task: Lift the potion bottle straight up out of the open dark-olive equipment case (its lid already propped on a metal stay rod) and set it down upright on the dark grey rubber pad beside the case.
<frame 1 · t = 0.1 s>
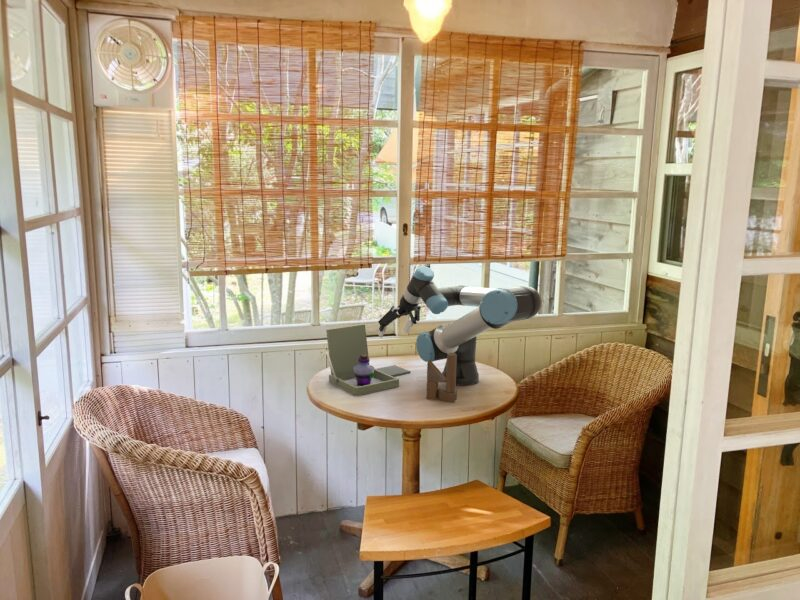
hand: (392, 333, 268), 15 cm above the table, tool tilted 35°, fingers open, 13 cm apart
pad: (392, 372, 265), on the table
case: (363, 384, 248), on the table
potion bottle: (363, 384, 248), resting in case
wooden block: (441, 400, 232), on the table
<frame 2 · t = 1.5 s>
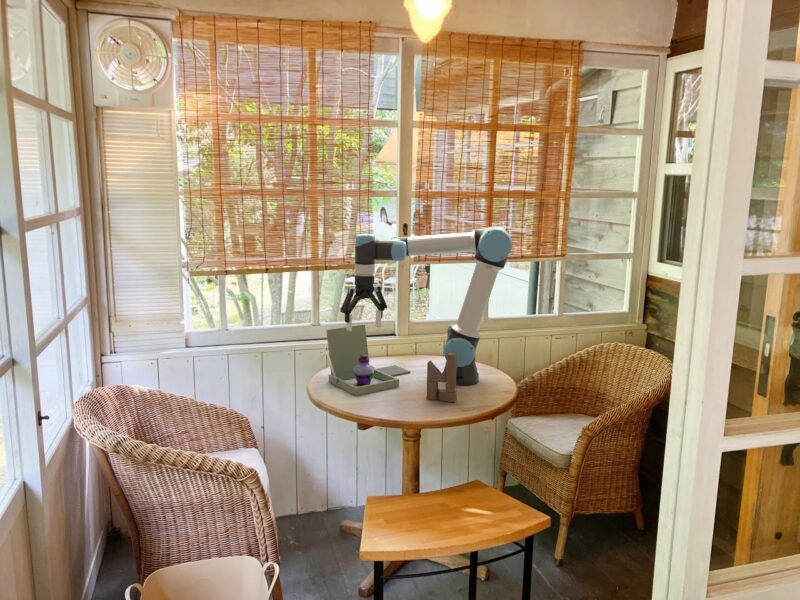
hand: (363, 328, 244), 23 cm above the table, tool pointing down, fingers open, 13 cm apart
nothing on the table moved.
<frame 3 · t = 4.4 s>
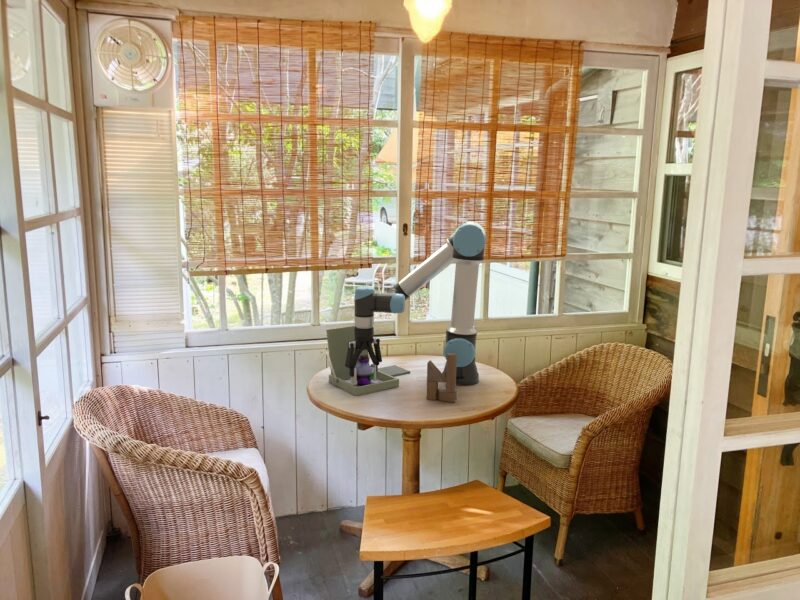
hand: (363, 382, 248), 1 cm above the table, tool pointing down, fingers closed on potion bottle, 9 cm apart
potion bottle: (363, 384, 248), resting in case, touching gripper
everything else where it was.
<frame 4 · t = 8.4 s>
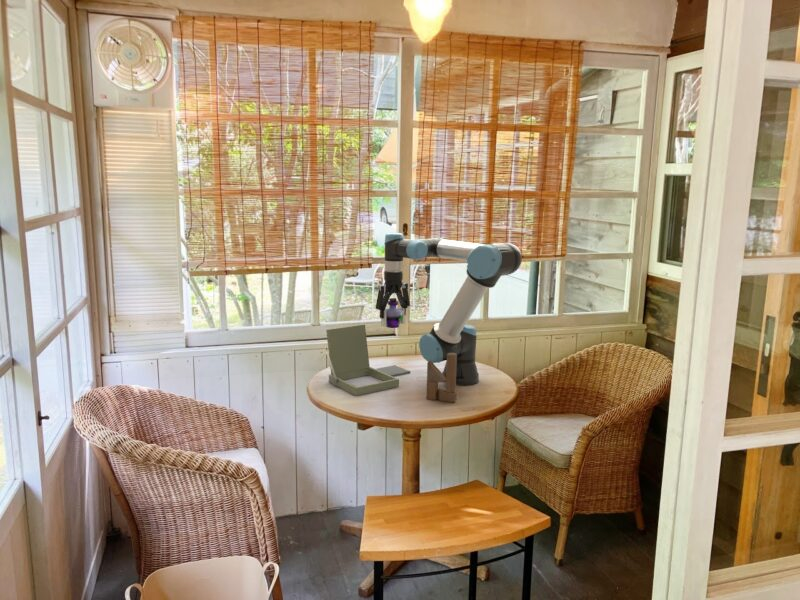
hand: (392, 324, 261), 21 cm above the table, tool pointing down, fingers closed on potion bottle, 9 cm apart
potion bottle: (392, 327, 261), point 20 cm above the table, touching gripper
everything else where it was.
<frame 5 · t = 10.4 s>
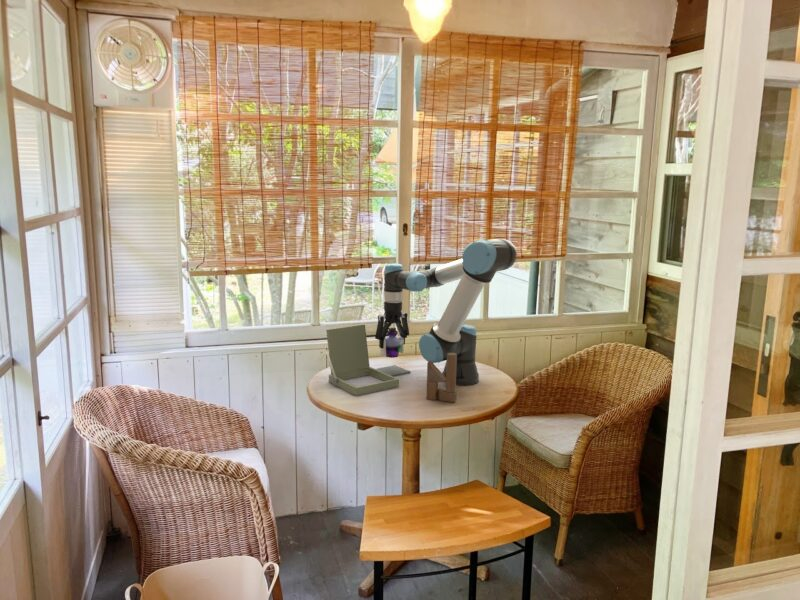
hand: (392, 353, 263), 8 cm above the table, tool pointing down, fingers closed on potion bottle, 9 cm apart
potion bottle: (391, 356, 264), point 7 cm above the table, touching gripper
everything else where it was.
when the fingers open (3 cm above the table, at t = 12.3 s): potion bottle drops 1 cm, resting on pad.
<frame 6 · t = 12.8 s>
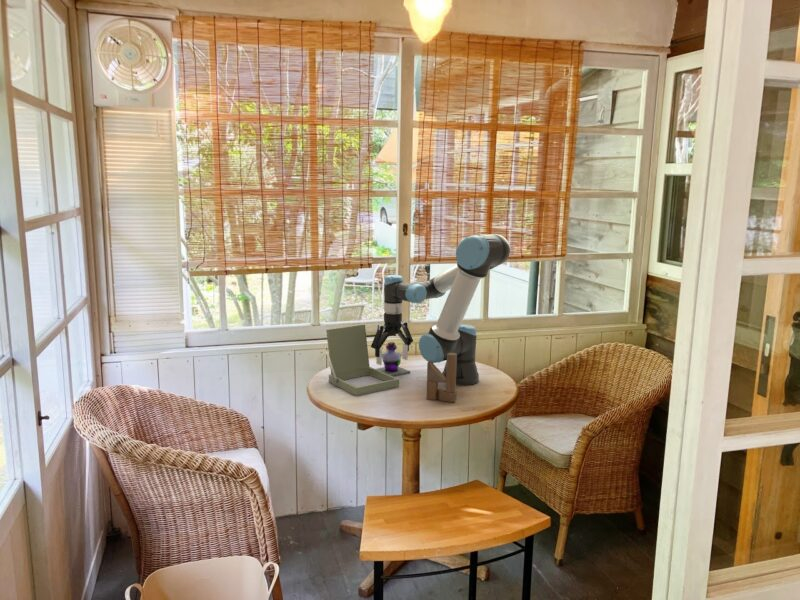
hand: (392, 361, 264), 4 cm above the table, tool pointing down, fingers open, 13 cm apart
potion bottle: (391, 370, 265), point 1 cm above the table, touching pad
everything else where it was.
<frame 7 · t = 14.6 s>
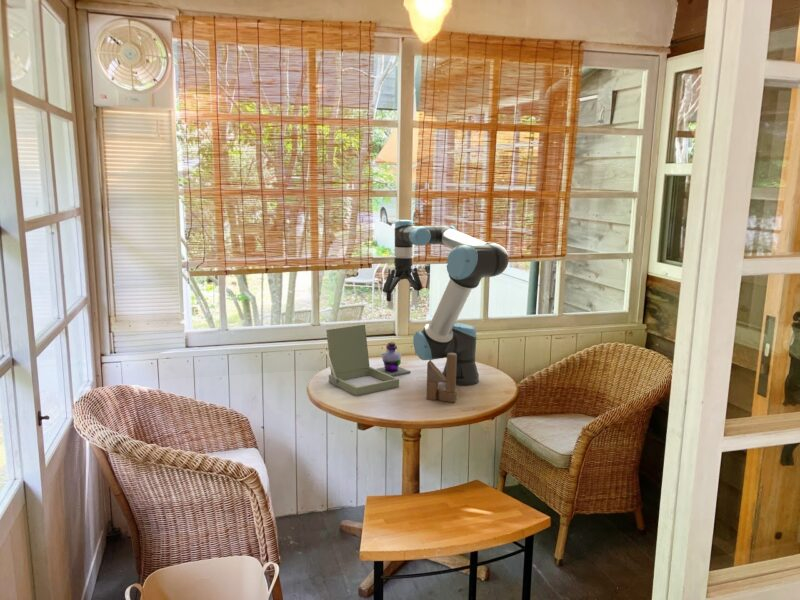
hand: (402, 306, 266), 27 cm above the table, tool pointing down, fingers open, 13 cm apart
nothing on the table moved.
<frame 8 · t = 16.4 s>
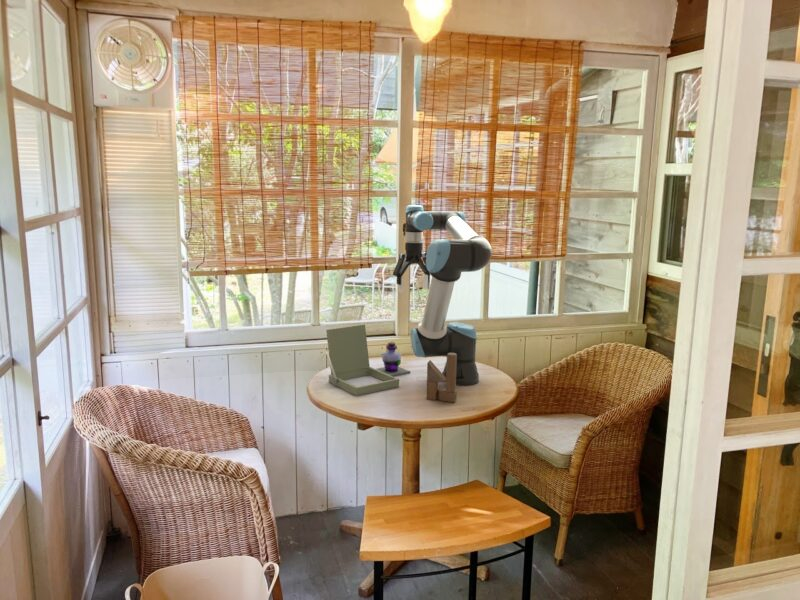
hand: (412, 290, 272), 33 cm above the table, tool pointing down, fingers open, 13 cm apart
nothing on the table moved.
at the end: potion bottle inside the target area on the pad (0.3 cm from its centre), point 0.6 cm above the pad's base; potion bottle tilted 0°; the gripper is holding nothing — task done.
